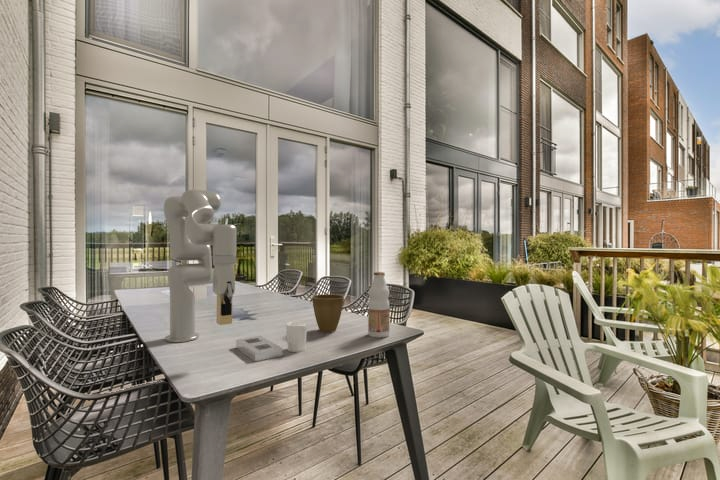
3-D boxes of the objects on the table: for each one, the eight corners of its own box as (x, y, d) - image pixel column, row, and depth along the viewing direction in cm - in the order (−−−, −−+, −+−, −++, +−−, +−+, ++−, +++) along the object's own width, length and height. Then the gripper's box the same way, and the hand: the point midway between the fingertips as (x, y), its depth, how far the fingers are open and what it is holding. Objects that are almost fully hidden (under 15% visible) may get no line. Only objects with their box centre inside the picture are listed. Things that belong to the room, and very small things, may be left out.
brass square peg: (214, 322, 124) (215, 291, 124) (229, 320, 127) (229, 290, 127) (219, 325, 120) (219, 293, 120) (233, 323, 123) (233, 291, 123)
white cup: (289, 353, 134) (289, 326, 134) (283, 348, 141) (283, 322, 141) (309, 350, 137) (309, 324, 137) (303, 345, 144) (303, 320, 144)
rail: (236, 347, 141) (236, 339, 141) (260, 343, 147) (260, 335, 147) (255, 361, 125) (255, 352, 125) (281, 356, 131) (282, 347, 131)
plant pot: (343, 335, 160) (343, 299, 160) (309, 334, 160) (309, 298, 160) (344, 326, 175) (345, 293, 175) (314, 326, 175) (314, 293, 175)
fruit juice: (366, 337, 157) (367, 272, 156) (370, 331, 166) (370, 271, 166) (388, 338, 155) (388, 273, 155) (390, 333, 164) (390, 271, 164)
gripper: (206, 259, 128) (206, 311, 128) (220, 262, 114) (220, 320, 115) (228, 258, 132) (227, 308, 132) (244, 261, 119) (243, 317, 119)
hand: (224, 313), depth 124 cm, fingers closed on brass square peg, 4 cm apart
